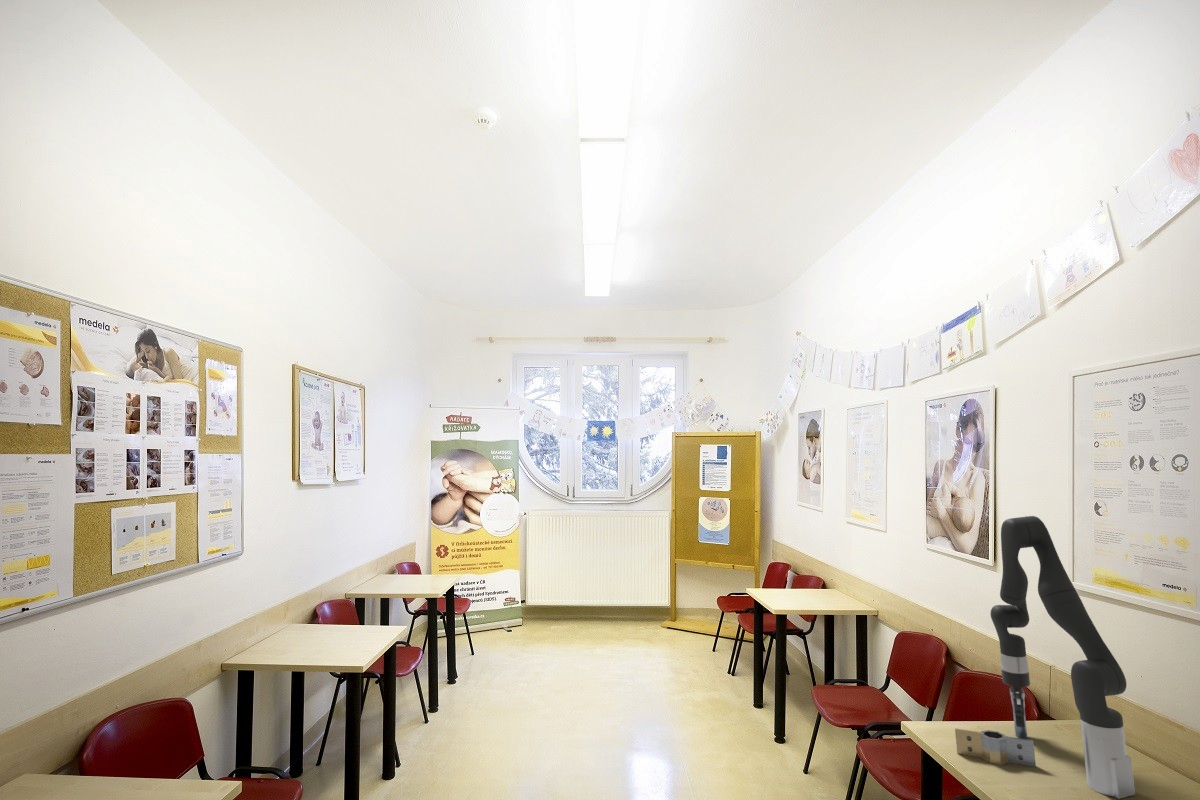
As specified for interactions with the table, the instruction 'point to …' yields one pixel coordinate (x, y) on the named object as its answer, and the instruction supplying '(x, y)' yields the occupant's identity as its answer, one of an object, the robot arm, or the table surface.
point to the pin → (1020, 731)
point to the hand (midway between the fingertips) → (1020, 724)
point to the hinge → (995, 747)
